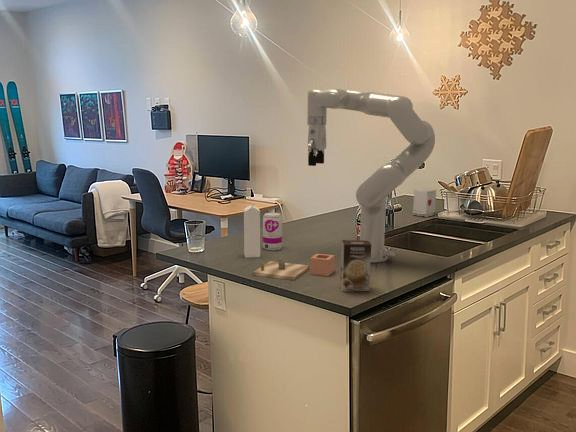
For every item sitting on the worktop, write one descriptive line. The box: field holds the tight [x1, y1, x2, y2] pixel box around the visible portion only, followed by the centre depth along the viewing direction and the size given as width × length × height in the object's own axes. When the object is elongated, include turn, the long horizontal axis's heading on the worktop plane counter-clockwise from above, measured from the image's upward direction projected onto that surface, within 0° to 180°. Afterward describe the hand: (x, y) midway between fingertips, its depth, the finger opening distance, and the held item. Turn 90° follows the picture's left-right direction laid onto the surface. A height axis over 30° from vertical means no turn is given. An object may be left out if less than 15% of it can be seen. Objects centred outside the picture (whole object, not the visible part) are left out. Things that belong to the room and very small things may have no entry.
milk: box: [243, 200, 261, 259], centre depth 232 cm, size 6×6×22 cm
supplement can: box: [262, 212, 283, 252], centre depth 244 cm, size 8×8×15 cm
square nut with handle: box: [309, 253, 336, 277], centre depth 212 cm, size 12×7×6 cm, turn 158°
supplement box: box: [412, 187, 437, 214], centre depth 320 cm, size 9×9×15 cm
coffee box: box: [339, 239, 372, 292], centre depth 190 cm, size 9×6×16 cm
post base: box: [252, 257, 310, 281], centre depth 211 cm, size 16×16×5 cm
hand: (316, 164), depth 232 cm, fingers open, 9 cm apart
